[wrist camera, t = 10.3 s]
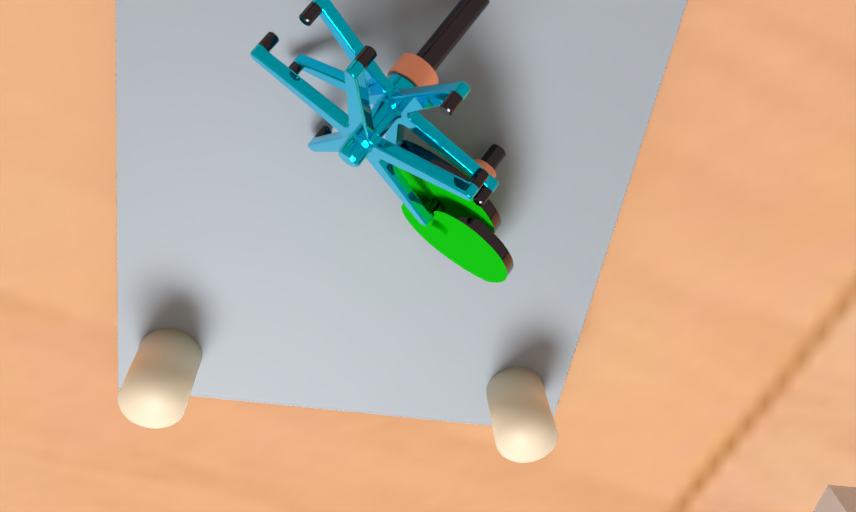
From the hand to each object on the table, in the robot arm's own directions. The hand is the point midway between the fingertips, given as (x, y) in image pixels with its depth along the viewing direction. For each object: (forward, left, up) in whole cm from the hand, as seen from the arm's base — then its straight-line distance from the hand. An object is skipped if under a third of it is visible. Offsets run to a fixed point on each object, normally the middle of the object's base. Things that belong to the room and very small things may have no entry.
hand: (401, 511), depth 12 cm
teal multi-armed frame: (+2, +1, -18) cm, 18 cm away
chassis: (0, 0, -19) cm, 19 cm away
